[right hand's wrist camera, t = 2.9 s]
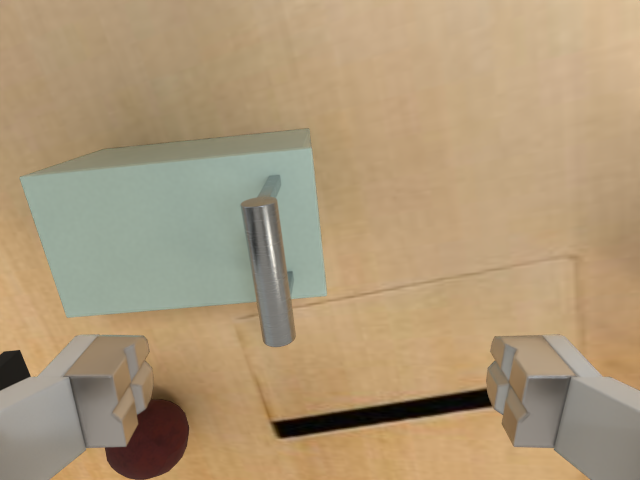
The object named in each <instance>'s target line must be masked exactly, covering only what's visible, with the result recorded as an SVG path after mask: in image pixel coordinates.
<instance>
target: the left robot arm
mask: <svg viewBox="0 0 640 480" xmlns="http://www.w3.org/2000/svg"><path fill="white" fill-rule="evenodd" d="M29 377H31V376H30V374H29V371H28V369H27V366H26V364H25V361H24V359H23V356H22V354H21V352H20V350H16V351H6V352H3V353H2V354H1V355H0V391H1V390H3V389H5V388H7V387H9V386H11V385H14V384H16V383H18V382H20V381H22V380H24V379H26V378H29Z"/></svg>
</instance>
